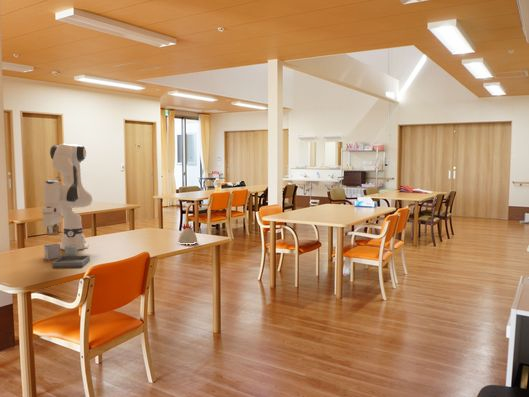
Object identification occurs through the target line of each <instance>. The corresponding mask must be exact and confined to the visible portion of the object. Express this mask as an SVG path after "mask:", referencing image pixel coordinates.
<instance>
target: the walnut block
mask: <svg viewBox="0 0 529 397" xmlns="http://www.w3.org/2000/svg"><path fill="white" fill-rule="evenodd" d="M52 228H53V233H49V229H48V226H46V236H47V237H49V236H50V237H51V236H58V235H60V226H59V225H58V226H54V225H53V227H52Z"/></svg>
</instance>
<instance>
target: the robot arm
mask: <svg viewBox="0 0 529 397" xmlns="http://www.w3.org/2000/svg"><path fill="white" fill-rule="evenodd" d="M49 155H50V159H52V166H53V168H54V170H55V171H57V172H58V173H60V174H62V182H63V184H62V185H61V184H60V182H59V180H57V179H49V180H45V181H44V186H43V199H44V201H43V207H42V208H41V213H42V225H43V226H44V227H48V229H49V233H53V228H52V227H53V226H59V223H61V222H62V219H63V235H61V243H60V250H64V251H65V246H72V245H74V246H77V251H79V250H82V249H83V250H84V249H89V244H90V243H89V242H87V241H86V237H85V235H84V233H83V231H84V230H83V229H84V227H83V224H82V220H83V219H82V216H81V215H80V214H79V213H76V211H73V209H77V208H86V207H90V206H91V205H92V203H93V196H92V194H91V193H90V192H89V191H88V190H86V189H85V188H84V186H83V184H82V183H83V182H82V177H81V173H82V172H81V164H80V163H82V162H83V161H85V159H86V156H87V149H86V148H85V146H84V145H80V144H69V143H68V144H66V143H60V144H59V145H58V144H55V145H52V146H51V147H50V150H49ZM62 217H63V218H62Z"/></svg>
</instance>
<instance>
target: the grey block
mask: <svg viewBox="0 0 529 397" xmlns="http://www.w3.org/2000/svg"><path fill="white" fill-rule="evenodd" d="M64 256H78V250H77V246H74V245H72V246H65V250H64Z"/></svg>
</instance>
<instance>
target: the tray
mask: <svg viewBox="0 0 529 397" xmlns="http://www.w3.org/2000/svg"><path fill="white" fill-rule="evenodd" d="M90 261H91V257H90V255H77V256H65V255H60V258H56V259H55V260H54V261H52V265H51V266H52V268H53V269H59V268H60V267H62V269H64V267H65V268H66V267H68V268H71V267H72V268H83V267H84V266H86V264H88V262H90ZM72 268H71V269H72ZM60 269H61V268H60Z"/></svg>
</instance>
